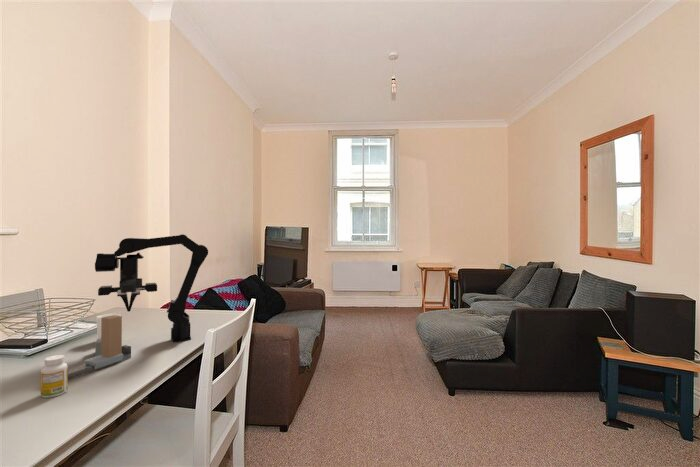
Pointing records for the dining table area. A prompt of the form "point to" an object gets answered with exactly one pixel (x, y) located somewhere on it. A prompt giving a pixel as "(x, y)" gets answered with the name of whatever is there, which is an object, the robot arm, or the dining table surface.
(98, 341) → the gauge cabinet
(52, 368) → the supplement bottle
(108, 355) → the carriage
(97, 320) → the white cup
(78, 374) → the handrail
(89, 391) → the dining table surface
